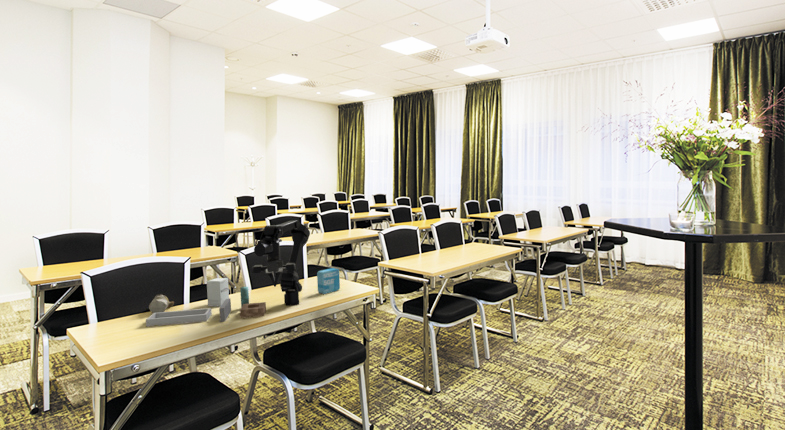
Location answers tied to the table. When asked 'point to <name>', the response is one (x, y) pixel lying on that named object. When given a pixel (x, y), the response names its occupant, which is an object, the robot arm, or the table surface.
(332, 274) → the data package
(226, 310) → the backstop wall
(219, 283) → the supplement box
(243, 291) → the dowel
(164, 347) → the table surface
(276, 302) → the table surface
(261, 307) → the pocket block
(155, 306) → the ceramic sculpture
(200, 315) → the rectangular open frame
